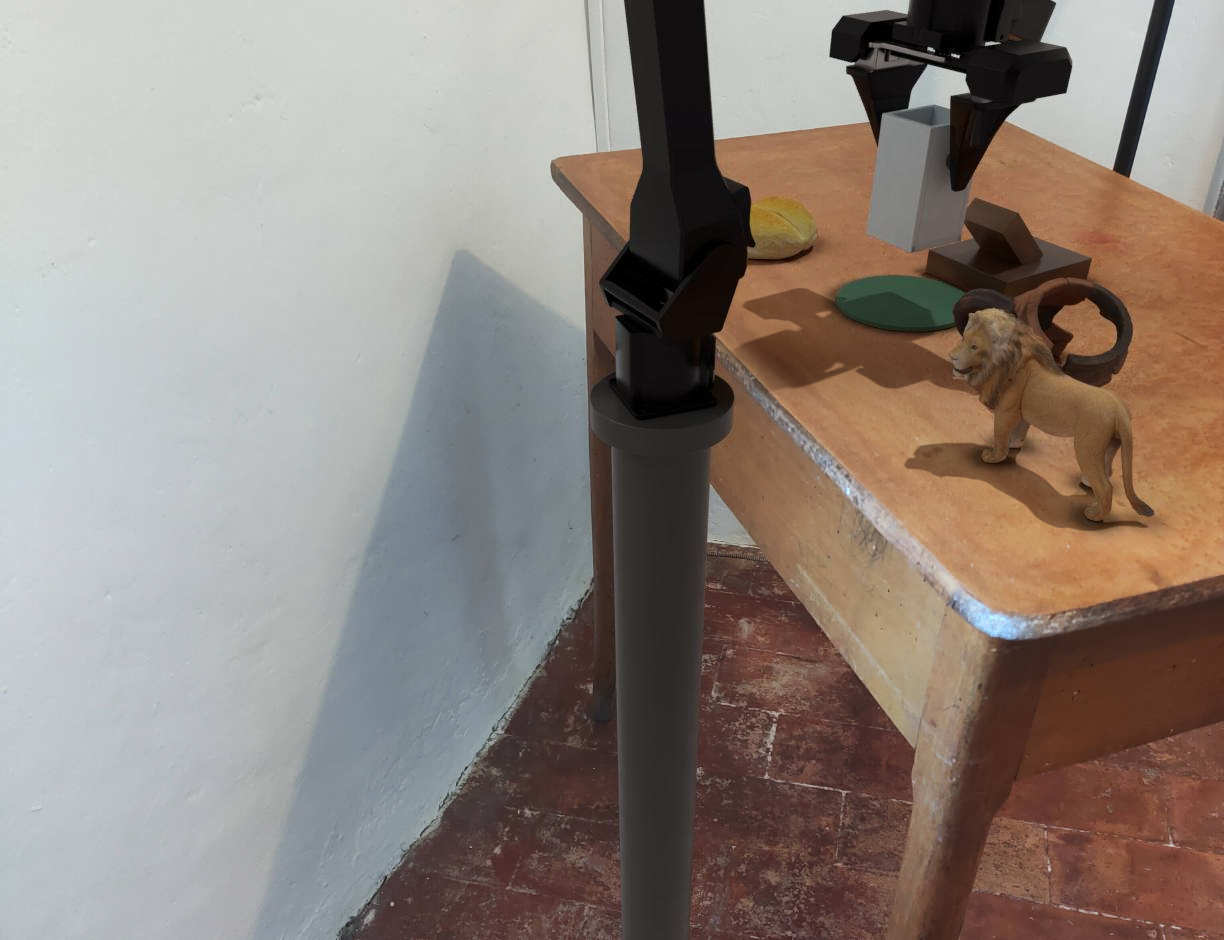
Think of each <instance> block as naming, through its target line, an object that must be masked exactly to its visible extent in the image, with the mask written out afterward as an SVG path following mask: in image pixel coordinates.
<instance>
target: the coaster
mask: <svg viewBox="0 0 1224 940" xmlns="http://www.w3.org/2000/svg"><path fill="white" fill-rule="evenodd" d="M837 291H838V292H837V293H836V298H835V302H836V306H837V308H838V309H839V311H840V312H842V313H843V315H845V316H847V317H848V318H850V319H852V320H853V321H855V322H858V323H861V324H863V325H867V326H870V327H873V328H877V329H881V330H882V329H883V330H889V331H897V332H907V333H909V332H912V333H916V332H917V333H918V332H935V331H940V330H941V331H942V330H947V329H951V328H954V327H956V326H955V322H954V315H953V313H952V311H953V308H954V305H955V304H956V302H958V301H959V300H960V298H961V297H962V295H964V294H965V293H966V292H965V291H963V290H961V288H958V287H956V286H955V285H953V284H952V285H951V284H949V283H946V282H943V281H941V280H936V279H931V278H927V277H922V276H921V277H920V276H915V275H914V276H913V275H899V274H898V275H897V274H896V275H895V274H892V275H891V274H890V275H888V274H887V275H876V276H875V275H874V276H868V277H862V278H859V279H856V280H853V281H850V282H849V283H846V284H844V286H841V288H840V289H839V290H837Z"/></svg>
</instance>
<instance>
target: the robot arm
mask: <svg viewBox="0 0 1224 940" xmlns="http://www.w3.org/2000/svg"><path fill="white" fill-rule="evenodd" d="M908 1H909V2H908V9H907V13H904V12H898V11H894V10H891V9H890V10H889V9H882V10H876V11H867V12H860V13H851V14H845V15H842V16H841V17H840V18H839V19H838V21H837V22H836V23H835V25H834V27H833V28H832V29H831V34H830V35H831V36H830V44H829V45H830V46H829V56H828V57H829V58H831V59H835V60H840V61H841V62H846V63H851V64H848V65H846V66H845V73H846V75H849V76H851V78H852V80H853V83H854V85H855V88H856V91H857V93H858V96H859V98H860V101H861V103H862V105H863V108H864V111H865V113H866V116H867V121H868V122H869V125H870V129H871V132H872V135H873V138H874V141H875V144H876V147H877V149H878V143H879V136H880V128H881V121H882V114H883V113H888V112H893V111H899V110H905V109H910V108H909V107H910V101H911V96H912V91H913V89H914V87H915V85H916V84H917V82H918V81H919V79H920V78H921V76H922V75H923V74H924V72H925V70H926V69H927V67H928V65H929V66H932V67H936V68H941V69H944V70H947V71H952V72H956V73H961V74H964V75H965V79H964V81H965V83H966V86H967V88H968V91H969V92H964V93H958V94H953V95H950V98H949V109H950V182H951V190H952V191H954V192H958V191H962V190H964V189H965V188H966V187H967V185H968V183H969V181H970V179H971V178H972V176H973V177H974V174H975V172H976V170H977V168H978V167H979V165H980V163H981V161H982V160H983V157H984V156H985V153H986V152H987V150H988V148H989V146H990V145H991V143H992V141H993V139H994V138H995V136H996V135H997V133H998V132H999V130H1000V128H1001V127H1002V126H1003V124H1004V123H1005V122H1006V121H1007V119H1008V118H1009V116H1010V115H1012V113H1014V112H1015V111H1016V110H1017V109H1018V108H1020V106H1021V105H1024V104H1025V105H1026V104H1029V103H1033V102H1035V101H1037V99H1042V98H1048V97H1052V96H1053V97H1054V96H1059V95H1064V94H1065V95H1066V94H1067V92H1068V89H1069V88H1068V87H1069V83H1070V79H1071V75H1072V70H1073V59H1072V57H1071V55H1070V52H1069V50H1068V48H1067V46H1063V45H1058V44H1053V43H1048V42H1043V41H1042V39H1043V37H1044V34H1045V33H1046V30H1047V28H1048V25H1049V23H1050V20H1051V18H1052V16H1053V13H1054V11H1055V9H1056V6H1057V2H1056V1H1054V0H908ZM623 6H624V14H625V21H626V29H627V30H626V31H627V39H628V45H629V46H628V47H629V48H628V49H629V56H630V65H631V72H632V73H631V74H632V82H633V90H634V98H635V106H636V108H635V109H636V114H637V115H636V117H637V123H638V124H637V125H638V132H639V141H640V150H641V159H642V170H641V173H640V175H639V178H638V182H637V184H636V187H635V190H634V193H633V195H632V198H631V201H630V205H629V239H628V240H627V241H626V243H625V245H623V247H622V248H621V250H620V251H619V253H618V254H617V256H616V257H615V258H614V259H613V261H612V262H611V263H610V265H609V266H608V268H607V269H606V270H605V272H604V273H603V275H602V276H601V278H599V281H598V286H599V288H600V291H601V293H602V297H603V299H604V301H605V303H606V304H605V305H607V306H608V307H610V308H613V309H615V310H617V311H618V312H620V313H621V314H618V315H615V316H614V327H615V328H614V329H615V333H614V334H615V371H616V377H615V378H611V379H609V387H610V388H611V390H612V391H613V392H614V393H615V395H616V396H617V397H618V398H619V400H620V401H621V402H622V403H623V405H624V406H625V407H626V408H627V410H628V411H629V412H630V413H631V415H632V416H633V417H634V418H635V419H636V420H648V419H653V418H658V417H663V416H669V415H674V414H679V413H684V412H690V411H695V410H700V409H705V408H711V407H715V406H716V405H717V398H716V397H715V396H714V395H713V394H712V393H711V392H710V391H709V389H711V388H713V386H714V375H715V374H716V372H715V371H716V353H717V352H716V351H717V350H716V349H717V337H716V336H715V335H714V334H717V333H720V332H722V331H723V329H724V326H725V323H726V320H727V317H728V314H729V312H730V308H731V305H732V303H733V300H734V297H735V294H736V290H737V288H738V285H739V282H740V280H742V279H743V278H744V277H745V275H746V272H747V268H748V262H749V258H748V248H747V246H748V247H751V248H754V247H755V245H756V243H755V241H754V239H753V236H752V234H751V228H750V212H751V205H752V196H751V190H750V188H749V186H747V185H745V184H742V183H740V182H738V181H736V180H733V179H731V178H730V177H726V176H725V175H723V174H722V171H721V170H720V167H719V165H718V161H717V156H716V142H715V131H714V129H715V128H714V116H713V115H714V113H713V101H712V100H713V99H712V88H711V74H710V61H709V60H710V59H709V45H708V33H707V18H706V5H705V0H623ZM986 43H993V44H988V45H986ZM929 48H930V49H932V50H930V49H929ZM954 55H955V56H954ZM957 56H959V57H957Z"/></svg>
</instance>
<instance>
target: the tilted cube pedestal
mask: <svg viewBox="0 0 1224 940" xmlns="http://www.w3.org/2000/svg"><path fill="white" fill-rule="evenodd" d="M964 226H965V228H966V229H967V231H968V232H969V233H970V235H971V237H972V238H969V239H965V240H961V241H959V242H955V243H951V244H946V245H942V246H938V247H934V248H930V249H928V253H927V258H926V265H925V271H924V272H925V273H927V274H929V275H932V276H934V277H936V278H938V279H941V280H943V281H944V282H948V283H950V284H952V285H953V286H955V287H956V286H957V287H959V288H960V289H963V290H965V291H967V292H969V291H971V290H975V289H980V288H983V289H991V290H995V291H997V292H999V293H1001V294H1003V295H1005V296H1008V297H1012V298H1014V297H1016V296H1020V295H1022V294H1024V293H1026V292H1028V291H1031V290H1033V289H1036V288H1038V287H1039V286H1040V285H1042V284H1043V283H1045V282H1047V281H1050V280H1054V279H1057V278H1064V279H1065V278H1078V279H1083V280H1086V281H1088V276H1089V272H1090V269H1091V265H1092V261H1093V258H1092V257H1090V256H1087V255H1084V254H1081V253H1079V252H1076V251H1074V250H1071V249H1069V248H1065V247H1063V246H1060V245H1058V244H1055V243H1052V242H1050V241H1047V240H1044V239H1041V238H1039V237H1036V236H1034V235H1032V233H1031V231H1030V229H1029V227H1028V226H1027V225H1026V222H1025V221H1024V219H1023V218H1022V216H1021V214H1020V213H1019V212H1018V211H1015V210H1012V209H1009V208H1007V207H1004V206H1002V205H1001V206H1000V205H998V204H995V203H992V202H990V201H987V200H984V199H981V198H978V197H976V196H975V197H974V198H973V199H972V201H971V202H970V203H969V205H967V210H966V215H965V220H964Z"/></svg>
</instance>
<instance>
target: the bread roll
mask: <svg viewBox="0 0 1224 940" xmlns="http://www.w3.org/2000/svg"><path fill="white" fill-rule="evenodd" d="M750 228H751V234H752V236H753V239H754V241H755V243H756V245H755V247H754V248H751V247H748V246H747V248H748V259H753V260H782V259H787V258H790V257H791V258H792V257H794V256H795V255H797V254H799V253H800V252H802V251H803V252H804V251H806V250H808V249H810V248H811V247H812V245H813V244H814V243H815V242H816V241H817V238H818V234H819V233H818V232H819V231H818V225H817V223H816V219H815V217H814V215H813V213H811V212H810V211H809V209H808V208H807V207H806V206H805V205H804V204H803V203H801V202H799V201H797V200H795V199H793V198H789V197H785V196H780V195H779V196H778V195H772V196H766V197H761V198H760V199H758V200H756V201H755V202H753V203H751V212H750Z"/></svg>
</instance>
